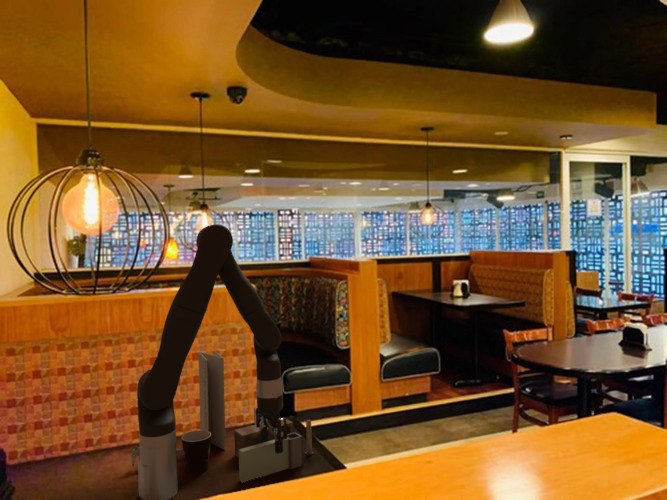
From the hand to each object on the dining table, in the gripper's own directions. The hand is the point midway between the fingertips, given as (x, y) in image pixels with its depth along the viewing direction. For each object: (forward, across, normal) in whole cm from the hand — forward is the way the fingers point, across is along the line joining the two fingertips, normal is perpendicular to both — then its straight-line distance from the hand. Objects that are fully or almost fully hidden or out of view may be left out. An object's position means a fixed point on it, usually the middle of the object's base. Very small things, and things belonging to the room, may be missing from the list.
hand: (271, 448), depth 148 cm
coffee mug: (+7, -17, -16) cm, 24 cm away
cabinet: (+7, -15, +5) cm, 17 cm away
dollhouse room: (+8, -32, +17) cm, 37 cm away
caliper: (+8, -27, -22) cm, 36 cm away
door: (+7, 0, -3) cm, 8 cm away
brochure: (+7, -31, -6) cm, 32 cm away
